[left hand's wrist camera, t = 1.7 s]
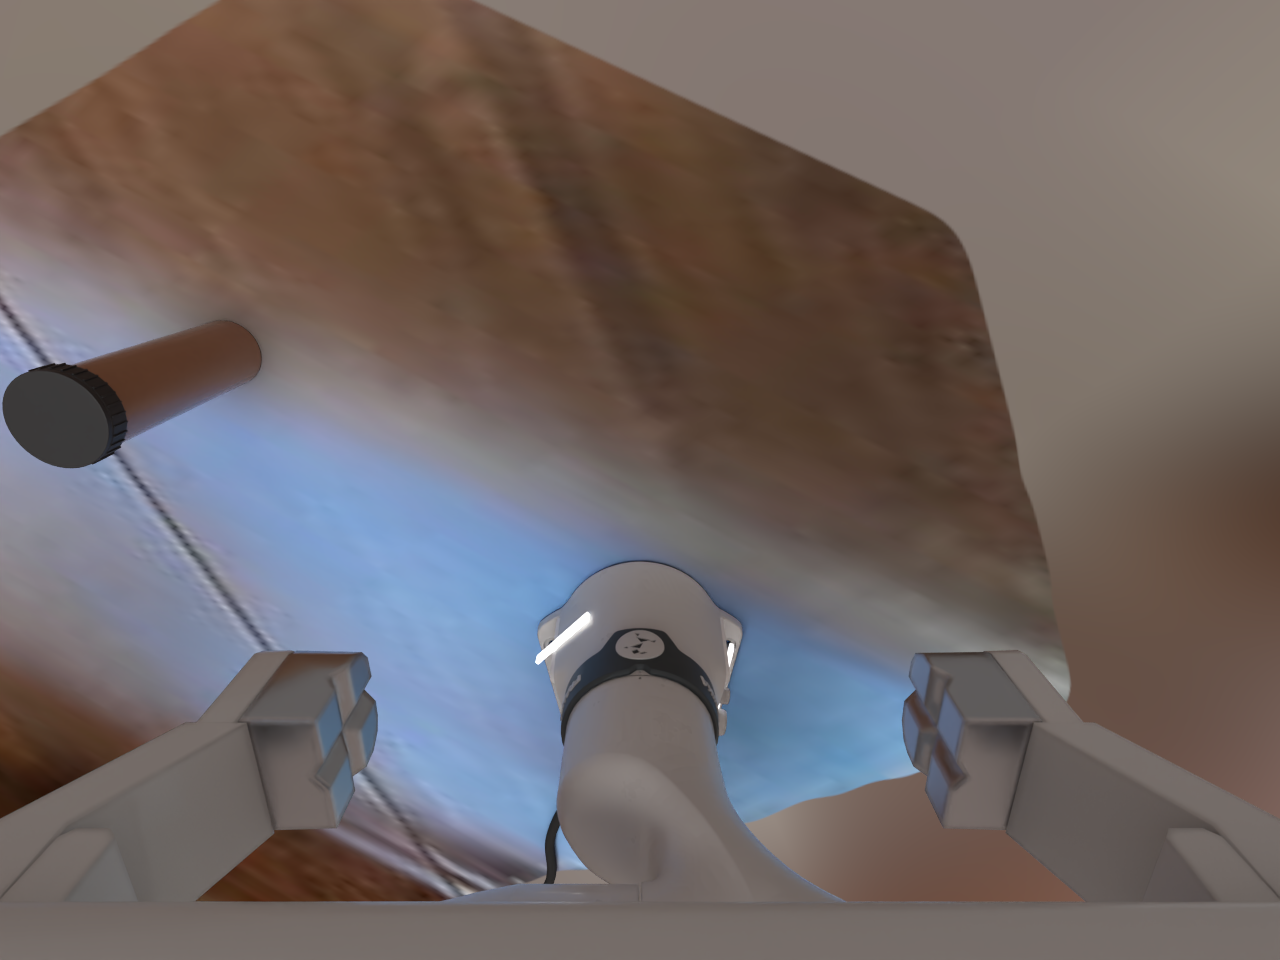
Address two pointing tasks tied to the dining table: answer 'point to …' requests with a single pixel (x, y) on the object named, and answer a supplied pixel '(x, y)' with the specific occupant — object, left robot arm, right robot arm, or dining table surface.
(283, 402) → the dining table surface
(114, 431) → the lid
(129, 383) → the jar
